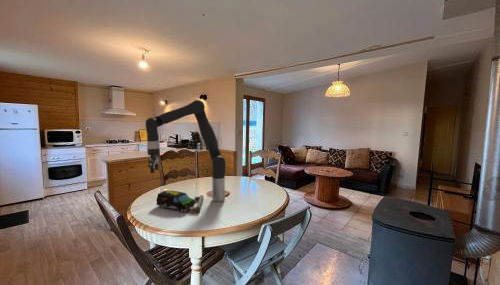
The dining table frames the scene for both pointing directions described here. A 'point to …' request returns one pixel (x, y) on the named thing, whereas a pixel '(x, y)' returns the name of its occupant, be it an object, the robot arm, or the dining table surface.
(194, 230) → the dining table surface
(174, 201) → the toy van
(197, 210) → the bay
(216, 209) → the dining table surface
